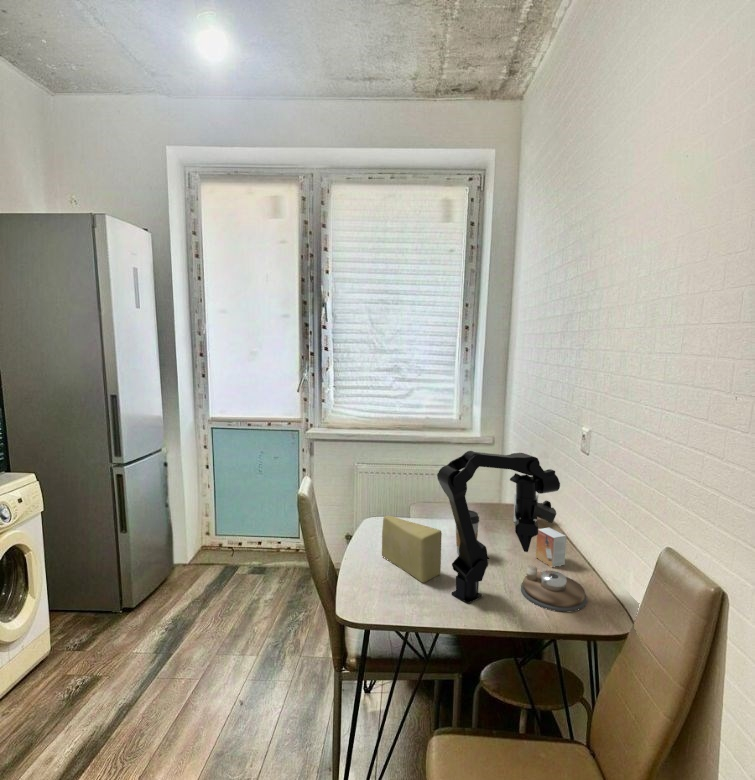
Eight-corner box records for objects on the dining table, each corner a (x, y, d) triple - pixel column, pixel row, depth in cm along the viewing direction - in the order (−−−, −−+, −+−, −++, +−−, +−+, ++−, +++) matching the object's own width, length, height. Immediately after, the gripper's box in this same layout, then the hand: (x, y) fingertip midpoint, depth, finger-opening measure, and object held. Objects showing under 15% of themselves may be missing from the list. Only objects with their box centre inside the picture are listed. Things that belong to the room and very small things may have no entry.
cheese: (372, 560, 152) (373, 517, 151) (392, 551, 159) (393, 511, 158) (422, 584, 136) (423, 537, 135) (441, 574, 143) (443, 528, 142)
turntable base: (566, 619, 119) (566, 616, 119) (506, 590, 133) (506, 586, 133) (597, 597, 130) (598, 594, 130) (539, 572, 145) (539, 569, 144)
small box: (535, 558, 155) (536, 528, 154) (547, 555, 157) (549, 526, 156) (552, 568, 148) (553, 537, 147) (565, 565, 150) (566, 535, 149)
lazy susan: (565, 614, 119) (566, 596, 119) (511, 588, 132) (511, 571, 132) (595, 593, 130) (596, 577, 129) (542, 571, 143) (543, 556, 143)
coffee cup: (476, 561, 152) (478, 519, 151) (452, 557, 154) (453, 515, 153) (479, 551, 160) (480, 511, 158) (456, 548, 162) (457, 508, 161)
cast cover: (558, 595, 126) (558, 584, 126) (535, 584, 132) (536, 574, 131) (570, 587, 130) (571, 577, 130) (548, 577, 136) (549, 568, 136)
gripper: (557, 508, 123) (556, 562, 124) (551, 487, 141) (551, 535, 142) (515, 504, 126) (515, 557, 127) (515, 485, 144) (514, 532, 145)
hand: (525, 545), depth 135 cm, fingers open, 9 cm apart
